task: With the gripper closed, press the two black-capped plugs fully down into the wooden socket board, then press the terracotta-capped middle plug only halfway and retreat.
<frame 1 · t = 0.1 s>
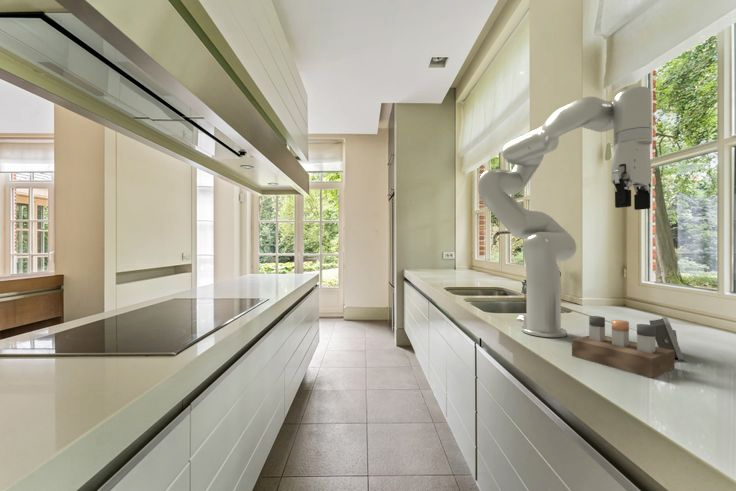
hand: (632, 208, 83), 37 cm above the worktop, tool pointing down, fingers open, 9 cm apart
plug middle: (620, 333, 78), point 7 cm above the worktop, slide at 0.0 cm
electrical switch: (666, 355, 83), on the worktop
plug left: (597, 328, 82), point 7 cm above the worktop, slide at 0.0 cm
wooden socket board: (620, 361, 78), on the worktop
plug right: (646, 338, 73), point 7 cm above the worktop, slide at 0.0 cm
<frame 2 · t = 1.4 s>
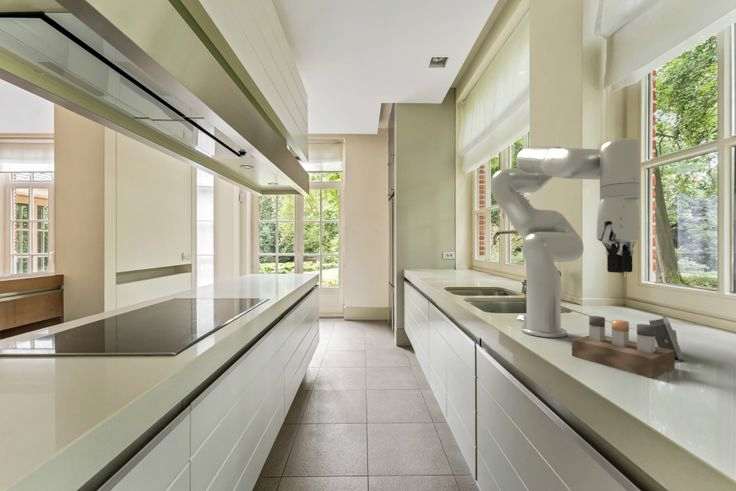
hand: (619, 271, 78), 21 cm above the worktop, tool pointing down, fingers open, 3 cm apart
nothing on the worktop moved.
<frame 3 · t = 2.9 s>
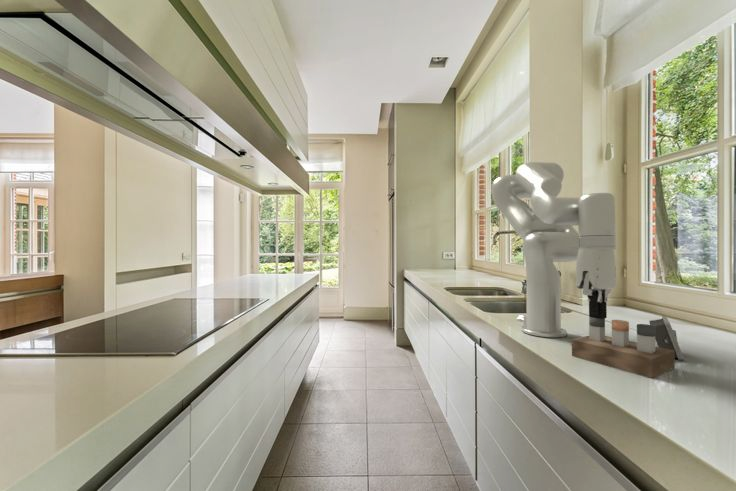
hand: (597, 317, 82), 9 cm above the worktop, tool pointing down, fingers closed
plug left: (597, 329, 82), point 7 cm above the worktop, slide at 0.1 cm, touching gripper
everything else where it was.
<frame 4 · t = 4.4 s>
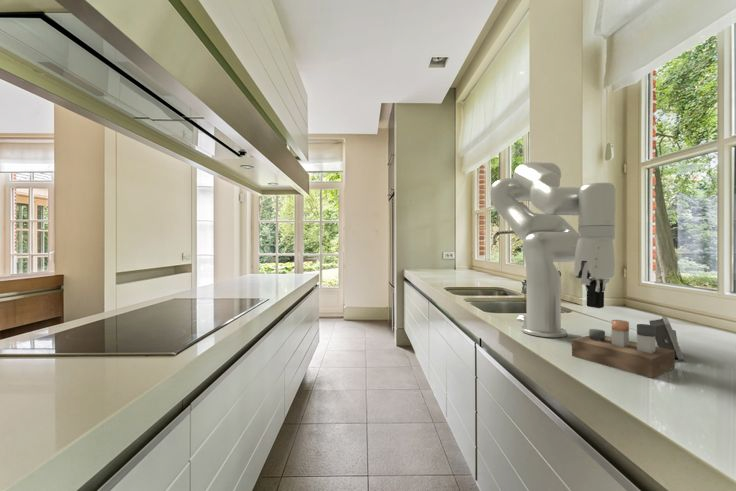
hand: (595, 306, 83), 12 cm above the worktop, tool pointing down, fingers closed
plug left: (597, 342, 82), point 3 cm above the worktop, slide at 3.3 cm
everything else where it was.
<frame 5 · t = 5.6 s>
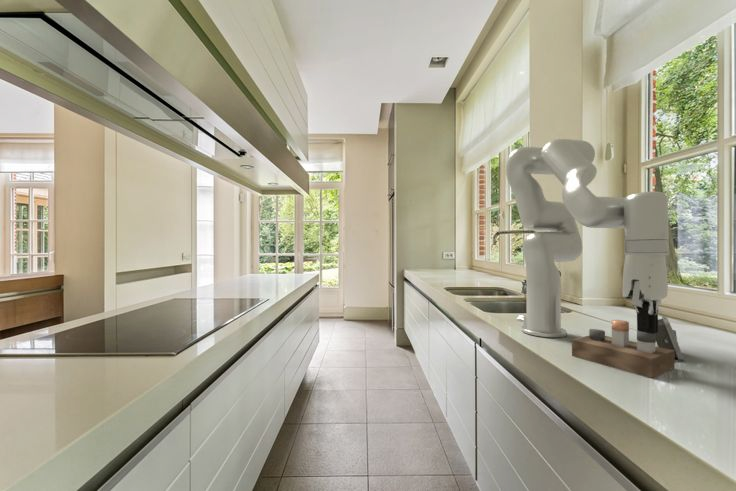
hand: (647, 331, 73), 8 cm above the worktop, tool pointing down, fingers closed
plug right: (646, 344, 73), point 5 cm above the worktop, slide at 1.3 cm, touching gripper
everything else where it was.
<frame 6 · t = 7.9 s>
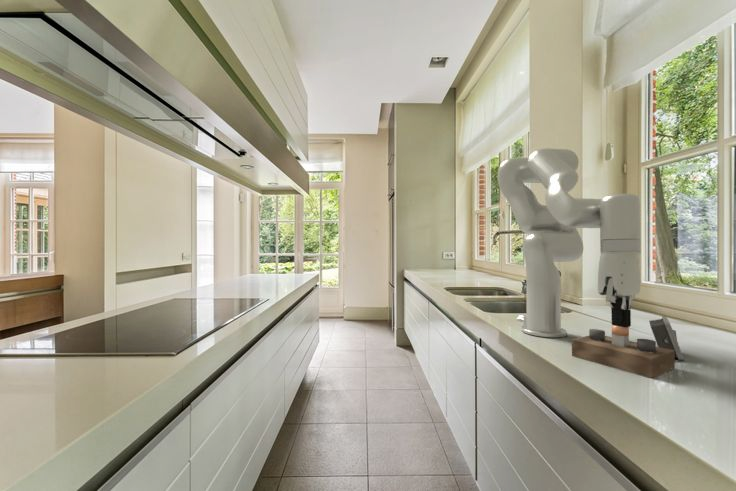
hand: (621, 325, 77), 9 cm above the worktop, tool pointing down, fingers closed
plug middle: (620, 338, 78), point 6 cm above the worktop, slide at 1.1 cm, touching gripper
plug right: (646, 353, 73), point 3 cm above the worktop, slide at 3.3 cm
everything else where it was.
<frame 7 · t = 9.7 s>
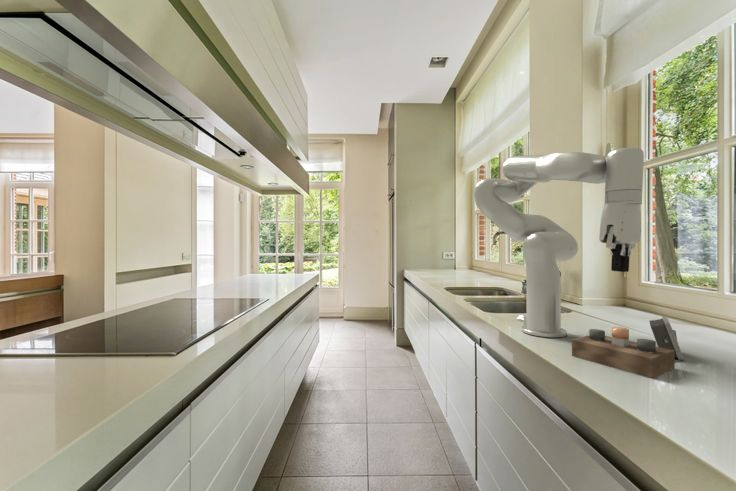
hand: (619, 271, 84), 21 cm above the worktop, tool pointing down, fingers closed
plug middle: (620, 340, 78), point 5 cm above the worktop, slide at 1.7 cm
everything else where it was.
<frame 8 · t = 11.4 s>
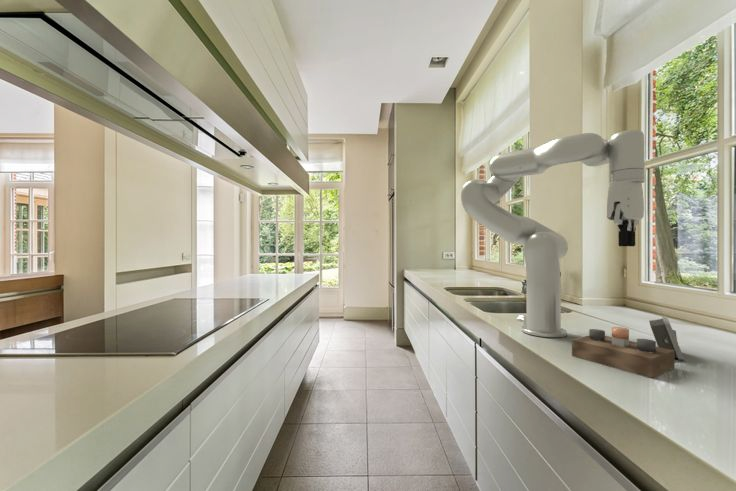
hand: (626, 246, 89), 27 cm above the worktop, tool pointing down, fingers closed
nothing on the worktop moved.
at the end: plug left slide at 3.3 cm; plug right slide at 3.3 cm; plug middle slide at 1.7 cm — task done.
